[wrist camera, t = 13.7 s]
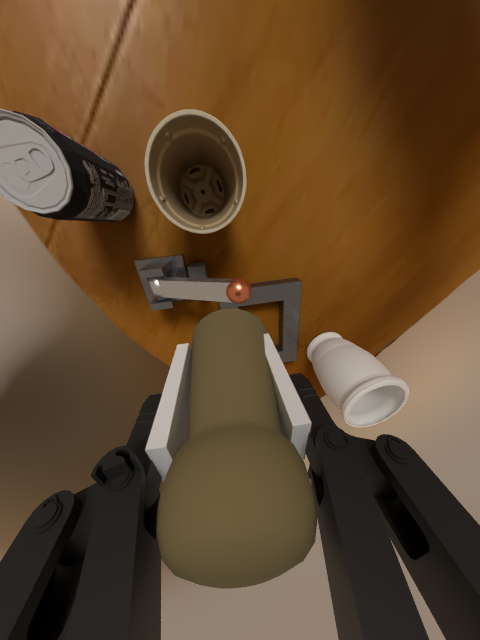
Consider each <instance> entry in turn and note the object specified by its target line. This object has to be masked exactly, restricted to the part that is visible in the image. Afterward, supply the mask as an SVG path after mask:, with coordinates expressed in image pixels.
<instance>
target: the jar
mask: <svg viewBox="0 0 480 640" xmlns="http://www.w3.org/2000/svg"><path fill="white" fill-rule="evenodd" d="M307 357H308V359H309V360H310V361H311V362H312V365H313V368H314V371H315V373H316V375H317V378H318V380H319V382H320V384H321V386H322V388H323V390H324V391H325V393H326V394H327V396H328V397H329V398H330V399H331V401H332V402H333V403H334V404H335V405H336V406H337V407H338V408H339V409H340V410H341V415H342V418H343V419H344V420H345V422H346V423H347V424H348V425H350V426H353V427H368V426H372V425H375V424H378V423H380V422H382V421H385V420H386V419H388V418H390V417H391V416H393V415H394V414H395V413H397V412H398V411H399V410H400V409H401V408H402V407H403V406H404V405H405V403H406V402H407V400H408V398H409V395H410V387H409V385H408V384H407V383H406V382H404V381H403V380H402V379H400V378H398V377H395V376H392V374H391V373H390V372H389V370H388V369H387V368H386V367H385V366H384V365H383V364H382V363H381V362H380V361H379V360H378V359H377V358H375V357H374V356H373V355H372V354H370V353H369V352H367V351H365V350H364V349H362V348H360V347H358V346H357V345H355V344H353V343H352V342H350V341H347V340H344V339H343V338H342V337H341V336H340V335H339V334H337V333H335V332H326V333H323V334H320V335H318V336H317V337H315V338H314V339H313V340H312V341H311V343H310V344H309V346H308V348H307Z"/></svg>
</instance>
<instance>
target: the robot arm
mask: <svg viewBox="0 0 480 640" xmlns="http://www.w3.org/2000/svg"><path fill="white" fill-rule="evenodd" d="M264 344H265V355H266V359H267V362H268V366H269V370H270V373H271V377H272V380H273V385H274V390H275V395H276V400H277V405H278V411H279V418H280V425H281V433H282V434H283V435H284V436H285V437H286V438H287V439H288V440H289V441H290V442H292V443H293V444H294V446H295V447H296V449H297V451H298V453H299V454H300V456H301V458H302V459H305V454H306V455H307V457H308V460H309V462H310V466H309V470H308V475H309V478H310V479H311V483H312V488H313V491H314V496H315V503H316V511H317V517H318V523H319V529H320V534H321V540H322V546H323V552H324V557H325V563H326V569H327V575H328V581H329V586H330V592H331V598H332V603H333V609H334V615H335V621H336V627H337V632H338V638H339V640H429V638H428V635H427V633H426V630H425V628H424V625H423V623H422V620H421V618H420V615H419V612H418V610H417V607H416V605H415V602H414V599H413V597H412V594H411V592H410V589H409V587H408V584H407V581H406V579H405V576H404V574H403V571H402V569H401V566H400V563H399V561H398V558H397V556H396V553H395V551H394V548H393V545H392V543H393V544H394V546H395V548H396V550H397V552H398V553H399V555H400V557H401V559H402V561H403V562H404V564H405V566H406V568H407V570H408V571H409V573H410V575H411V577H412V579H413V581H414V582H415V584H416V586H417V588H418V590H419V591H420V593H421V595H422V596H423V599H424V600H425V602H426V604H427V606H428V608H429V609H430V611H431V613H432V615H433V617H434V618H435V620H436V622H437V624H438V626H439V628H440V629H441V631H442V633H443V635H444V637H445V638H446V640H480V525H479V524H478V523H477V522H476V521H475V520H474V519H473V517H472V516H471V515H470V514H469V513H468V512H467V510H466V509H465V508H464V507H463V506H462V505H461V504H460V502H458V500H457V499H456V498H455V497H454V495H453V494H452V493H451V492H450V491H449V490H448V489H447V487H446V486H445V485H444V484H443V483H442V482H441V481H440V479H439V478H438V477H437V476H436V475H435V474H434V473H433V471H432V470H431V469H430V468H429V467H428V466H427V465H426V463H425V462H424V461H423V460H422V459H421V458H420V456H419V455H418V454H417V453H416V452H415V451H414V450H413V449H412V448H411V447H410V446H409V445H408V444H407V443H406V442H404V441H403V440H401V439H399V438H397V437H394V436H392V435H385V434H383V435H380V436H378V437H377V439H376V441H374V440H369V439H364V438H358V437H354V436H351V435H349V434H347V433H345V432H344V431H343V430H341V429H340V428H338V427H337V426H336V424H335V423H334V422H333V420H332V419H331V417H330V415H329V413H328V412H327V410H326V408H325V407H324V405H323V403H322V402H321V400H320V398H319V397H318V396H317V393H316V392H315V390H314V389H313V387H312V385H311V383H310V381H309V380H308V379H307V378H306V377H305V376H304V375H302V374H301V373H299V374H292V375H288V373H287V371H286V369H285V367H284V365H283V362H282V360H281V358H280V356H279V354H278V352H277V350H276V348H275V346H274V344H273V342H272V340H271V338H270V335H269V333H268V334H264ZM190 369H191V351H190V346H189V343H187V344H179V345H177V348H176V351H175V354H174V357H173V361H172V364H171V367H170V370H169V374H168V377H167V380H166V383H165V387H164V391H163V393H161V394H155V395H150V396H149V397H148V398H147V400H146V401H145V402H144V403H143V405H142V408H141V410H140V413H139V416H138V418H137V420H136V424H135V425H134V428H133V430H132V433H131V436H130V438H129V440H128V443H127V445H126V446H121V447H117V448H115V449H113V450H111V451H109V452H108V453H107V454H106V455H105V456H103V457H102V458H101V459H100V461H99V462H98V463H97V464H96V466H95V467H94V470H93V472H92V474H91V477H92V478H93V479H94V480H95V481H96V482H97V483H95V484H94V485H91V486H90V487H88V488H86V489H84V490H82V491H80V492H78V493H76V494H73V493H72V492H71V491H66V490H63V491H60V492H57V493H55V494H53V495H52V496H50V497H49V498H47V499H46V500H44V501H43V502H42V503H41V504H40V505H39V506H38V507H37V508H36V509H35V510H34V511H33V513H32V514H31V515H30V517H29V518H28V519H27V521H26V522H25V524H24V525H23V527H22V529H21V530H20V532H19V533H18V535H17V536H16V538H15V540H14V541H13V543H12V544H11V546H10V547H9V549H8V551H7V552H6V554H5V556H4V557H3V559H2V560H1V562H0V640H161V555H160V550H159V545H158V540H157V535H156V527H157V509H158V504H159V500H160V496H161V495H160V492H159V487H160V483H161V479H162V480H163V482H164V481H165V477H166V474H167V471H168V469H169V467H170V465H171V463H172V460H173V458H174V456H175V454H176V452H177V451H178V450H179V449H180V448H181V447H182V446H183V445H184V444H185V442H186V441H187V428H188V409H189V389H190ZM389 537H390V538H389ZM390 539H391V540H390ZM391 541H392V543H391Z"/></svg>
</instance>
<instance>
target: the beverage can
mask: <svg viewBox="0 0 480 640" xmlns="http://www.w3.org/2000/svg"><path fill="white" fill-rule="evenodd" d="M0 194H1V195H2V196H4V197H5V198H6V199H7V200H8V201H10V202H12V203H14V204H16V205H18V206H19V207H21V208H23V209H25V210H27V211H32V212H33V213H35V214H37V215H39V216H42V217H47V218H52V219H57V220H78V221H107V222H114V221H119V220H123V219H124V218H125V217H127V216H128V215H129V214H130V212H131V210H132V207H133V205H134V200H133V191H132V188H131V186H130V183H129V180H128V179H127V178H126V176H125V175H124V174H123V172H122V171H121V170H120V169H119V168H118V167H116V166H115V165H114V164H112V163H111V162H109V161H108V160H106V159H105V158H103V157H101V156H100V155H98V154H96V153H95V152H93V151H92V150H90V149H88V148H87V147H85V146H83V145H82V144H80V143H78V142H77V141H75V140H74V139H72V138H70V137H69V136H67V135H65V134H64V133H62V132H61V131H59V130H57V129H56V128H54V127H52V126H51V125H49V124H47V123H46V122H44V121H43V120H41V119H39V118H37V117H33V116H30V115H27V114H23V113H20V112H17V111H13V112H10V111H6V110H3V109H0Z"/></svg>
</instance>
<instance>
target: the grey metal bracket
mask: <svg viewBox="0 0 480 640" xmlns="http://www.w3.org/2000/svg"><path fill="white" fill-rule="evenodd" d="M134 263H135V265H136V268H137V271H138V274H139V277H140V280H141V282H142V285H143V288H144V291H145V294H146V296H147V299H148V302H149V305H150V307H151V310H152V311H154V310H161V309H169V308H173V307H174V305H175V303H176V301H178V300H186V299H178V298H168V299H165V300H161V301H156V300H154V298H153V295H152V292H151V289H150V286H149V283H148V280H147V278H151V277H159V276H164V275H165V276H166V277H179V278H188V276H187V272H186V268H185V263H184V259H183V255H174V256H165V257H157V258H148V259H139V260H135V261H134Z"/></svg>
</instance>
